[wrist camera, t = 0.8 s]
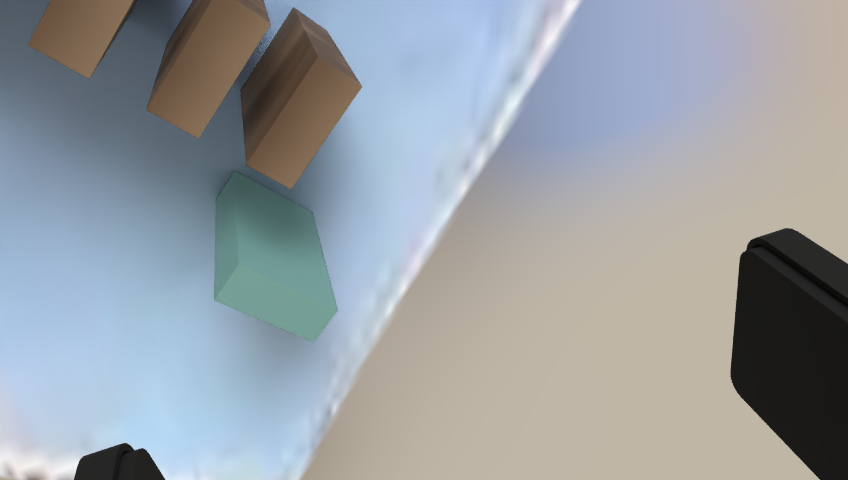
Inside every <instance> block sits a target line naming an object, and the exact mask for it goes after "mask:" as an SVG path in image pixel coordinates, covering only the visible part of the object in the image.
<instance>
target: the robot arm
mask: <svg viewBox="0 0 848 480" xmlns="http://www.w3.org/2000/svg"><path fill="white" fill-rule="evenodd" d="M731 380H732V383H733V385H734V388H735V389H736V391H737V393H738V394H739V395H740V396H741V398H742V399H744V401H745V402H746V403H747V404H748V405H749V406H750V407H751V408H752V409H753V410H754V411H755V412H756V413H757V414H758V415H759V416H760V417H761V418H762V420H764V422H765V423H767V425H768V426H769V427H770V428H771V429H772V430H773V431H774V432H775V433H776V434H777V435H778V436H779V437H780V438H781V439H782V440H783V441H784V443H785V444H786V445H788V447H789V448H790V449H791V450H792V451H793V452H794V453H795V454H796V455H797V456H798V457H799V458H800V459H801V460H802V461H803V462H804V463H805V464H806V465H807V467H808V468H809V469H810V470H811V471H812V472H813V473H814V474H815V475H816V476H817V477H818V478H819V479H820V480H848V264H847V263H845V262H844V261H842V260H841V259H839V258H838V257H836V256H835V255H833V254H832V253H830V252H829V251H827V250H825V249H824V248H822V247H821V246H819V245H818V244H816V243H815V242H813V241H811V240H810V239H808V238H807V237H805V236H804V235H802V234H801V233H799V232H798V231H795V230H793V229H788V228H785V229H782V230H779V231H776V232H773V233H770V234H766V235H764V236H760V237H757V238H755V239H752V240H751V241H750V242H749V243H748V245H747V250H746V251H745V252H743V253H742V254H741V257H740V263H739V275H738V289H737V300H736V312H735V325H734V336H733V349H732V361H731ZM74 480H165V478H164V477H163V475H162V474H161V472H160V470H159V469H158V467H157V466H156V464H155V463H154V461H153V459H152V458H151V456H150V455H149V453H148V452H147V451H146V450H145V449H143V448H142V449H138V450H134V449H133V448H132V447H131V446H130V445H129V444H127V443H123V444H120V445H117V446H114V447H110V448H107V449H104V450H101V451H98V452H95V453H92V454H89V455H86V456H83V457H82V458H81V459H80V461H79V464H78V466H77V470H76V474H75V478H74Z"/></svg>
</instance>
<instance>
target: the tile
mask: <svg viewBox="0 0 848 480" xmlns="http://www.w3.org/2000/svg"><path fill="white" fill-rule="evenodd" d="M214 300H215V301H217V302H220V303H222V304H224V305H227V306H229V307H231V308H234V309H236V310H239V311H241V312H243V313H246V314H248V315H250V316H253V317H255V318H257V319H260V320H262V321H264V322H267V323H269V324H272V325H274V326H276V327H279V328H281V329H283V330H286V331H288V332H290V333H293V334H295V335H298V336H300V337H302V338H305V339H307V340H309V341H312V342H314V341H315V340H316V338H317V337H318V336H319V335H320V333H321V332H322V331H323V329H324V328H325V327H326V325H327V324H328V323H329V321H330V320H331V319H332V318H333V316H334V315H335V314H336V312H337V311H338V309H337V305H336V301H335V297H334V293H333V289H332V286H331V282H330V278H329V274H328V270H327V266H326V262H325V259H324V255H323V251H322V247H321V243H320V239H319V236H318V232H317V228H316V224H315V220H314V216H313V212H311V211H309V210H307V209H306V208H304V207H302V206H300V205H298V204H296V203H294V202H293V201H291V200H289V199H287V198H285V197H283V196H281V195H280V194H278V193H276V192H274V191H272V190H270V189H268V188H267V187H265V186H263V185H261V184H259V183H257V182H255V181H254V180H252V179H250V178H248V177H246V176H244V175H242V174H241V173H239V172H237V171H234V173H233V174H232V176H231V177H230V179H229V180H228V182H227V183H226V185H225V186H224V188H223V189H222V191H221V192H220V194H219V195H218V197H217V198H216V229H215V282H214Z"/></svg>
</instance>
